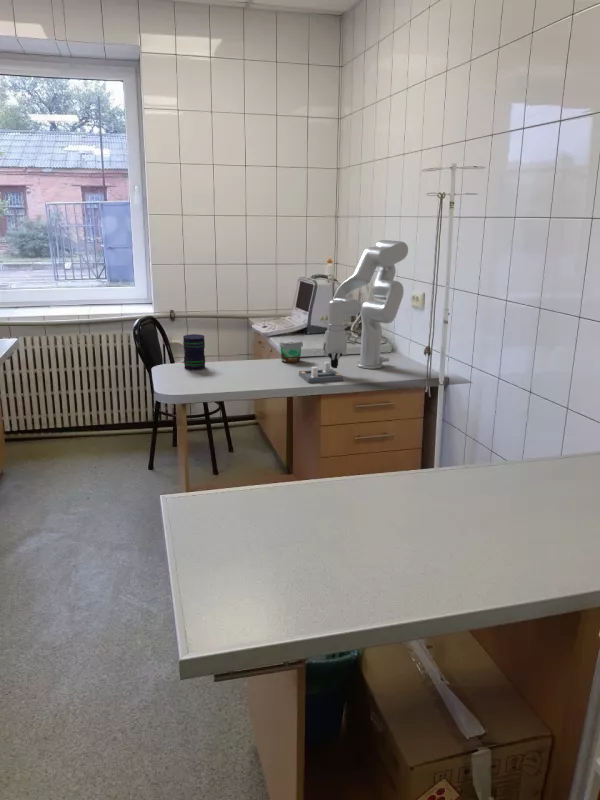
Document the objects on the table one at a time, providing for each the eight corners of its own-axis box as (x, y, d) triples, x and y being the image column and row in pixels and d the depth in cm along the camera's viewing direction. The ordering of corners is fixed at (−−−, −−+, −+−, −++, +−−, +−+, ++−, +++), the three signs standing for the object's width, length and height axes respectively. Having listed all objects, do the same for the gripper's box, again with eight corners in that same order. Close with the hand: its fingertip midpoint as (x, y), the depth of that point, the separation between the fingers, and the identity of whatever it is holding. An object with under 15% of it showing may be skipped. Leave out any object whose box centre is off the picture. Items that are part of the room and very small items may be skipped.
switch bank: (331, 373, 287) (331, 368, 286) (342, 380, 275) (342, 375, 274) (298, 375, 282) (299, 370, 281) (308, 383, 270) (308, 378, 269)
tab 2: (328, 371, 284) (328, 361, 283) (330, 373, 282) (331, 363, 280) (322, 372, 283) (322, 361, 282) (324, 374, 281) (324, 363, 279)
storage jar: (202, 364, 297) (201, 333, 293) (208, 369, 289) (207, 337, 284) (181, 366, 293) (180, 335, 289) (187, 371, 285) (186, 339, 280)
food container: (284, 365, 299) (284, 344, 296) (278, 362, 304) (279, 342, 301) (306, 362, 305) (307, 342, 302) (301, 359, 310) (301, 340, 307)
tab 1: (316, 377, 276) (316, 366, 274) (318, 378, 273) (319, 368, 271) (310, 377, 275) (310, 366, 273) (312, 379, 272) (312, 368, 270)
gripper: (347, 325, 283) (345, 364, 289) (317, 327, 278) (316, 366, 284) (354, 328, 276) (352, 368, 282) (323, 330, 272) (321, 370, 277)
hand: (334, 367), depth 283 cm, fingers closed
